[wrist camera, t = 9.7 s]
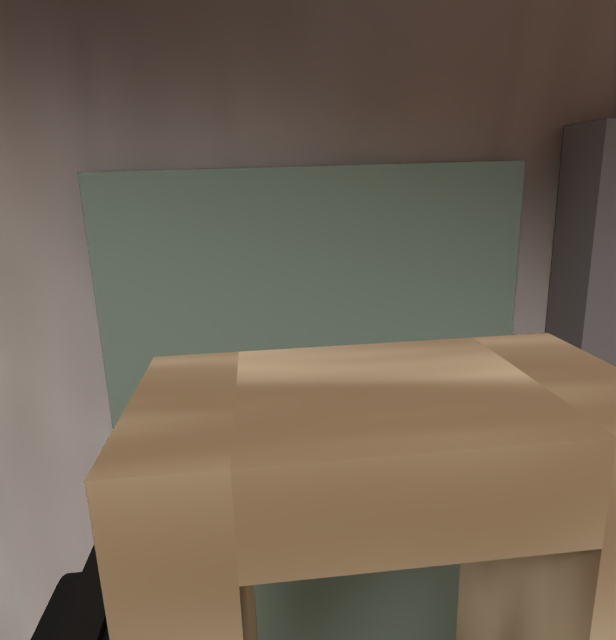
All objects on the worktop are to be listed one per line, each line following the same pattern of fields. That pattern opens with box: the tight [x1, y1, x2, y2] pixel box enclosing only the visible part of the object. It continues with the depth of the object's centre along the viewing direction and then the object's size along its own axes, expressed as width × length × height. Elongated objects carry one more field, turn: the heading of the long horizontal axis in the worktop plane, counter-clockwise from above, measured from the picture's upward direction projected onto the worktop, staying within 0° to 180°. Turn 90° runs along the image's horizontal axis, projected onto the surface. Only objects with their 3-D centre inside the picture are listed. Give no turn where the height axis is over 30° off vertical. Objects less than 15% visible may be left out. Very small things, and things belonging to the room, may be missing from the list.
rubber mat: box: [78, 160, 525, 640], centre depth 18 cm, size 22×13×1 cm, turn 2°
